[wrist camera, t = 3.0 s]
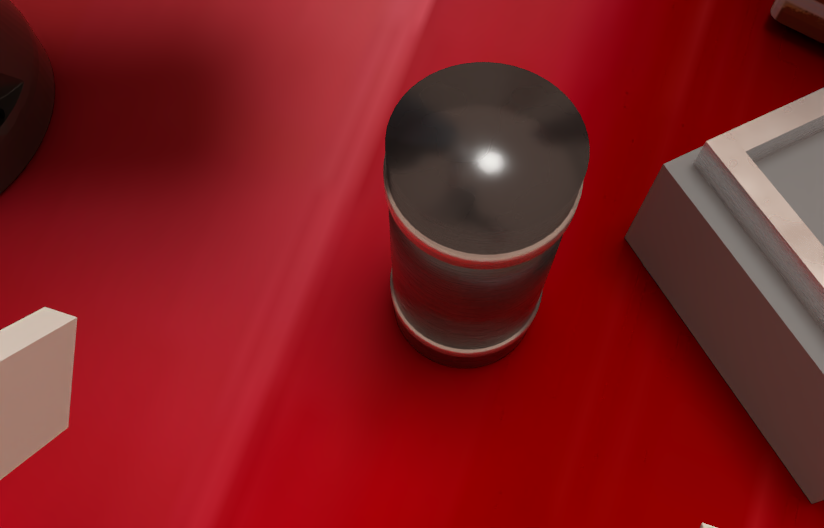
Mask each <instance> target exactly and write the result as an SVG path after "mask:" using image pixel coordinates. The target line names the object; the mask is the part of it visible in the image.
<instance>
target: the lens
mask: <svg viewBox="0 0 824 528" xmlns="http://www.w3.org/2000/svg"><path fill="white" fill-rule="evenodd" d="M589 148H590V147H589V139H588V134H587V131H586V127H585V124H584V122H583V120H582V118H581V116H580V114H579V112H578V111H577V109H576V107H575V106H574V105H573V103H572V102H571V101H570V100H569V99H568V97H567V96H566V95H565V94H564V93H563V92H561V91H560V90H559V89H558V88H557V87H556V86H554V85H553V84H551V83H550V82H549V81H547V80H545V79H544V78H542V77H540V76H538V75H537V74H534V73H532V72H530V71H527V70H525V69H522V68H518V67H515V66H511V65H506V64H501V63H491V62H475V63H466V64H460V65H456V66H451V67H448V68H445V69H442V70H440V71H437V72H435V73H433V74H431V75H429V76H427V77H426V78H424V79H423V80H421V81H419V82H418V83H417V84H416V85H414V86H413V87H412V88H411V89H410V90H409V91H408V92H407V93H406V94H405V95H404V96H403V97H402V98H401V100H400V101H399V103H398V104H397V105H396V107H395V109H394V111H393V113H392V115H391V117H390V120H389V123H388V126H387V131H386V137H385V152H386V153H385V158H384V189H385V196H386V201H387V204H388V208H389V224H390V242H391V260H392V269H391V276H390V286H391V296H392V301H393V305H394V309H395V316H396V319H397V323H398V325H399V327H400V330H401V332H402V333H403V335H404V336H405V338H406V339H407V341H408V342H409V343H410V344H411V345H412V346H413V347H414V348H415V349H416V350H417V351H418V352H419V353H421V354H422V355H423V356H425V357H427V358H428V359H430V360H432V361H434V362H437V363H439V364H442V365H445V366H449V367H456V368H475V367H481V366H485V365H488V364H491V363H493V362H496V361H498V360H500V359H501V358H503V357H505V356H506V355H507V354H509V353H510V352H511V351H512V350H513V349H514V348H515V347H516V346H517V345H518V344H519V343H520V341H521V340H522V339H523V337H524V335H525V334H526V332H527V330H528V327H529V326H530V325H531V323H532V321H533V319H534V317H535V315H536V313H537V310H538V307H539V305H540V302H541V297H542V289H543V287H544V284H545V281H546V279H547V276H548V273H549V271H550V268H551V265H552V263H553V260H554V257H555V255H556V252H557V249H558V246H559V244H560V241H561V238H562V236H563V233H564V232H565V231H566V229H567V228H568V226H569V224H570V222H571V220H572V218H573V216H574V213H575V210H576V208H577V205H578V202H579V200H580V197H581V193H582V187H583V179H584V177H585V174H586V171H587V167H588V162H589Z"/></svg>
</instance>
